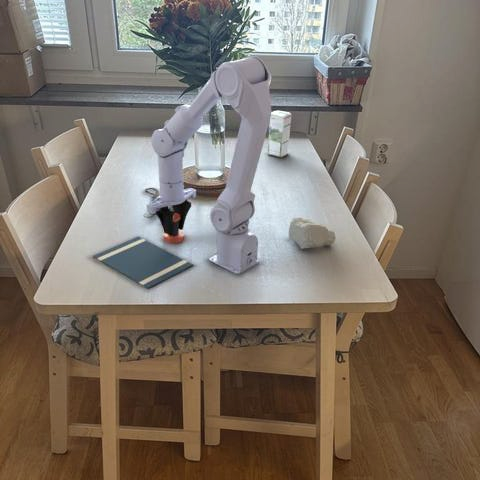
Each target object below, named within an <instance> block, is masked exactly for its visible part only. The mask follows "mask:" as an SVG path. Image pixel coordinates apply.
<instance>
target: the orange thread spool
mask: <svg viewBox="0 0 480 480" xmlns="http://www.w3.org/2000/svg"><path fill="white" fill-rule="evenodd" d="M179 220H180V215H179V214H178V213H174V216H173V220H172V234H171V235H168V234H166V233H164V232H163V240H164V242H165V243H168V244H174V245H175V244H180V243H182V242H184V241H185V232H184V231H183V230H180V229H179V223H178V221H179Z"/></svg>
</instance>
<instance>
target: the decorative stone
mask: <svg viewBox="0 0 480 480" xmlns="http://www.w3.org/2000/svg"><path fill="white" fill-rule="evenodd" d="M288 238H289V239H290V240H291V241H292V242H294V243H296V244H297V245H298V246H299V247H300V249H301V250H303V249H308V248H309V249H310V248H321V247H322V246H325V247H330V246H332V245H333V244H334V243H335V241H336V234H335V232H334V231H333V230H332V229H328V227H326V226H325V225H324V224H321V223H320V222H319V223H318V222H313V221H311V220H309V219H308V218H305V217H294V218H292V219H291V221H290V222H289V227H288Z"/></svg>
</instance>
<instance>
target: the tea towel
mask: <svg viewBox="0 0 480 480" xmlns="http://www.w3.org/2000/svg"><path fill="white" fill-rule="evenodd" d="M92 258H94V259H95V260H97V261H99V262H100V263H102V264H104V265H106V266H108V267H110V268H111V269H113V270H114V271H116V272H118V273H120V274H121V275H123V276H125V277H127V279H130V280H131V281H133V282H135V283H136V284H138V285H140V286H142V287H144V288H145V289H147V290H148V289H151V288H153V287H155V286H156V285H158V284H161V283H163V282H164V281H166V280H169V279H170V278H172V277H174V276H176V275H178V274H180V273H182V272H184V271H186V270H187V269H190V268H191V267H193V266H194V264H193V263H192V262H189V261H187V260H185V259H183V258H181V257H180V256H177V255H175V254H173V253H171V252H170V251H167V250H166V249H164V248H162V247H160V246H158V245H156V244H154V243H151V242H150V241H148V240H147V239H145V238H142V237H140V236H135V237H134V238H131V239H129V240H126V241H125V242H122V243H120V244H117V245H115V246H112V247H111V248H108V249H106V250H103V251H101V252H99V253H96V254H94V255H92Z"/></svg>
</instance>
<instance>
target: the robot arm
mask: <svg viewBox="0 0 480 480" xmlns="http://www.w3.org/2000/svg"><path fill="white" fill-rule="evenodd" d="M271 80H272V75H271V72H270V71H269V69H268V67H267V65H266V63H265V62H264V60H263V59H262V58H261V57H259V56H256V55H251V56H248V57H246V58H241V59H237V60H232V61H225V62H222V63H221V64H220V65H219V66H218V67H217V69H216V70H215V71H213V72H212V73H211V74H210V78H209V79H208V81H207V82H206V83H205V85H204V86H203V87H202V89H201V90H200V91H199V93H197V95H196V96H195V98H194V99H193V100H192V102H191V103H190V104H183V105H178V106H177V107H176V108H175V109H174V112H175V113H174V114H173V116H171V117H170V119H168V120H166V121H164V126H163V128H159V129H155V130H154V131H153V133H152V135H151V139H150V142H151V147H152V149H153V151H154V153H156V155H157V167H158V169H157V170H158V182H159V192H158V193H159V197H158V198H156V199H155V198H154V199H153V200H152V201H151V202H149V203H147V204H146V211H147V212H146V213H148V214H150V213H151V214H155V213H156V214H157V215H156V216H157V218H158V220H159V222H160V224H161V226H162V230H163V234H164V233H166V234H168V235H171V234H172V220H173V216H174V213H178V214H179V215H180V220H179V221H178V223H179V230H181V231H183V230H184V226H185V223H186V219H187V216H188V214H189V211H190V210H191V208H192V202H191V201H190V200H189V201H188V199H194V198H196V197H197V189H195V188H192V187H189V188H184V187H185V186H184V160H183V159H184V157H185V150H186V148H187V146H188V143H189V140H190V139H191V138H192V137H193V136H194V135H195V133H197V132H198V131H199V129H200V128H201V127H202V126H203V116H205V115H206V114H207V113H208V112H209V111H210V110H211V109H212V108H213V107H214V106H215V105H217V104H218V103H219V102H220V100H222V98H223V99H224V100H225V101H226V102H227V103H228V104H229V105H230V106H231V108H233V110H234V111H235V112H236V113H237V114H238V115H239V116H240V117H241V120H240V125H239V129H238V134H237V137H236V142H235V146H234V147H235V148H234V149H233V150H234V151H233V154H232V159H231V163H230V167H229V172H228V176H227V181H226V185H225V188H223V191H222V192H221V193H220V194H219V196H218V198H217V199H216V203H215V205H214V206H213V207H212V209H211V210H210V214H209V220H210V222H211V224H212V226H213V228H214V229H215V231H216V254H214V255H212V256H211V257H209V258H208V261H209V262H211V263H213V264H215V265H217V266H219V267H221V268H223V269H226V270H227V271H229V272H231V273H232V274H233V273H234V274H235V275H239V274H241V273H243V272H245V271H247V270H249V269H251V268H252V267H254V266H255V265H257V264H259V262H260V260H258V250H259V249H258V248H259V238H258V237H257V236H256V234H254V233H253V232H252V231H251V230H250V229H249V224H250V220H251V218H253V217H254V215H255V211H256V207H255V206H256V205H255V198H256V194H255V193H254V192H253V190H252V187H253V183H254V180H255V176H256V172H257V169H258V165H259V161H260V157H261V154H262V150H263V147H264V143H265V139H266V136H267V132H268V130H269V125H270V118H271V113H272V105H271V103H272V102H271V96H270V84H271ZM169 206H172V207H173V209H172V211H171V210H170V208H169ZM151 214H150V215H151Z"/></svg>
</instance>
